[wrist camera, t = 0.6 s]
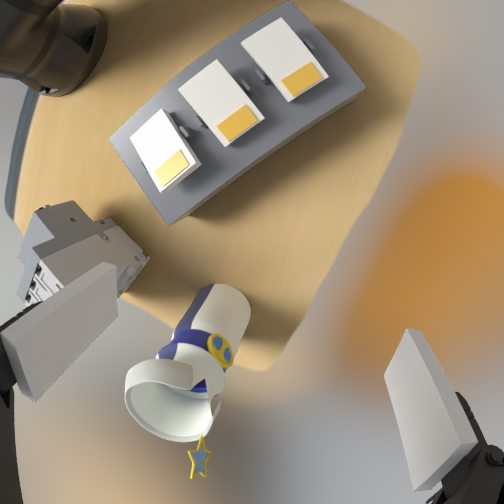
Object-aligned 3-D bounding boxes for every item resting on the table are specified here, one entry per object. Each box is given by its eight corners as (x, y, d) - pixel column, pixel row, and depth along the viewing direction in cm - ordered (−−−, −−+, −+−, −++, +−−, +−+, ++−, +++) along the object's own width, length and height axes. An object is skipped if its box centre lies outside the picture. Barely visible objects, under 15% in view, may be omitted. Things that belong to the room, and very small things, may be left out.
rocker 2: (180, 90, 25) (177, 89, 24) (218, 61, 24) (216, 58, 22) (226, 145, 27) (224, 147, 26) (264, 117, 26) (264, 118, 25)
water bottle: (228, 266, 38) (129, 416, 14) (265, 320, 39) (222, 493, 15) (179, 296, 40) (67, 430, 16) (216, 344, 41) (145, 496, 18)
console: (133, 138, 35) (97, 136, 27) (289, 21, 28) (286, -11, 20) (188, 215, 36) (160, 230, 29) (355, 99, 30) (370, 82, 22)
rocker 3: (241, 45, 23) (240, 42, 22) (280, 20, 22) (281, 16, 20) (287, 102, 25) (289, 101, 24) (326, 77, 24) (329, 76, 23)
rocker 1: (136, 140, 28) (128, 137, 27) (167, 111, 27) (160, 107, 26) (166, 193, 28) (159, 192, 27) (201, 164, 27) (195, 162, 25)
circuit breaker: (83, 188, 38) (2, 208, 23) (150, 257, 39) (83, 307, 25) (63, 226, 40) (-10, 256, 26) (124, 292, 41) (61, 346, 27)
